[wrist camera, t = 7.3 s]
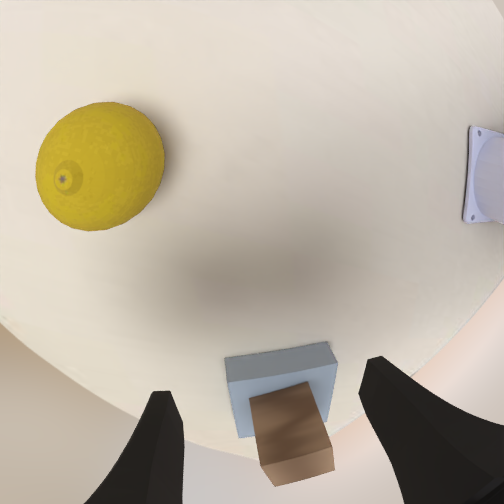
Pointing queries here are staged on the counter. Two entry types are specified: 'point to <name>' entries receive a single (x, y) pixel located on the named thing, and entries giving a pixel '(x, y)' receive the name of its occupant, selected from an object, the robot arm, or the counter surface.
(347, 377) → the counter surface
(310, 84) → the counter surface
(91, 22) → the counter surface
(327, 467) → the walnut block
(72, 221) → the lemon
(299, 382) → the blue-gray block
